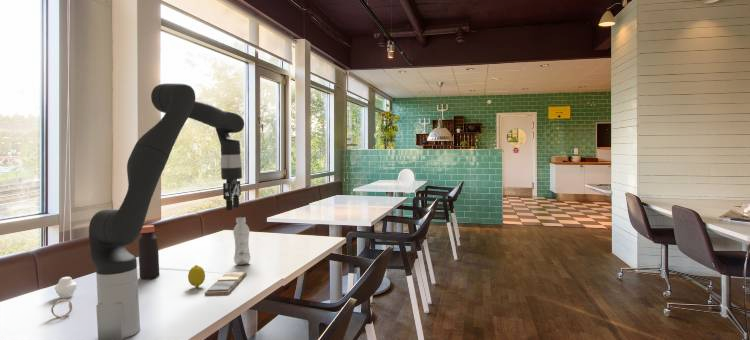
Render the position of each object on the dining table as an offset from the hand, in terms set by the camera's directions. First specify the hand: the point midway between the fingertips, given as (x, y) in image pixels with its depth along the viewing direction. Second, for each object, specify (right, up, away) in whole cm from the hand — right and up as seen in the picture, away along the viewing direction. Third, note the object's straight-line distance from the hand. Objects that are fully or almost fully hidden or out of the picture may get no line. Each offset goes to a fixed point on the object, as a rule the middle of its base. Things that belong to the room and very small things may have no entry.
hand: (233, 208), depth 160 cm
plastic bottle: (-2, -26, +17) cm, 31 cm away
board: (+1, -27, -10) cm, 28 cm away
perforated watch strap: (-39, -29, -36) cm, 61 cm away
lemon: (-9, -27, -12) cm, 31 cm away
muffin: (-50, -29, -19) cm, 61 cm away
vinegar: (-33, -27, +2) cm, 43 cm away
